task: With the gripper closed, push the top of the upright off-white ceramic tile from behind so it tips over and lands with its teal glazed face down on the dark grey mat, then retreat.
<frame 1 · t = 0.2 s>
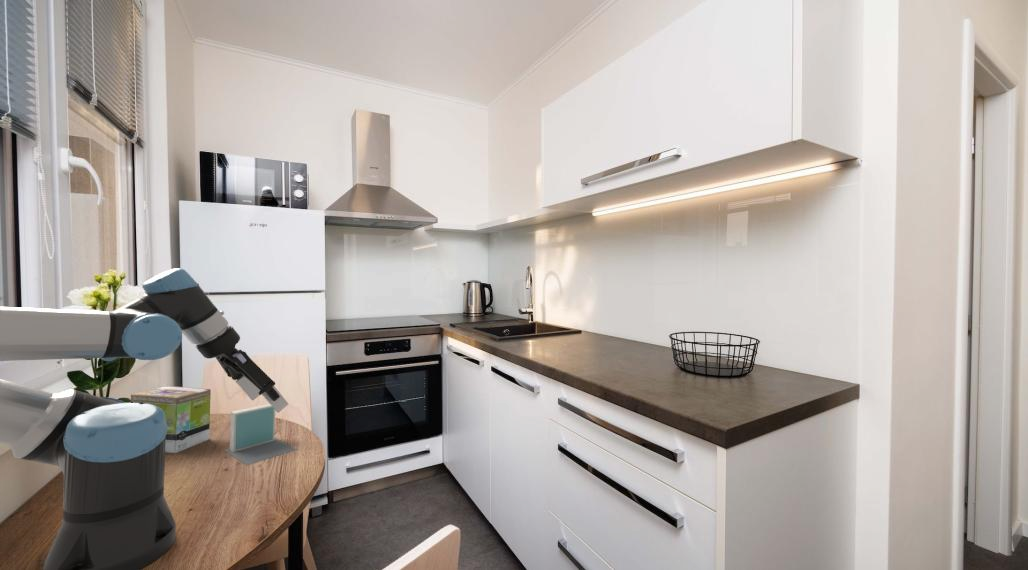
hand: (269, 402, 96), 16 cm above the table, tool tilted 35°, fingers open, 13 cm apart
tea box: (170, 445, 108), on the table
mat: (260, 451, 105), on the table
tile: (252, 444, 108), resting on mat
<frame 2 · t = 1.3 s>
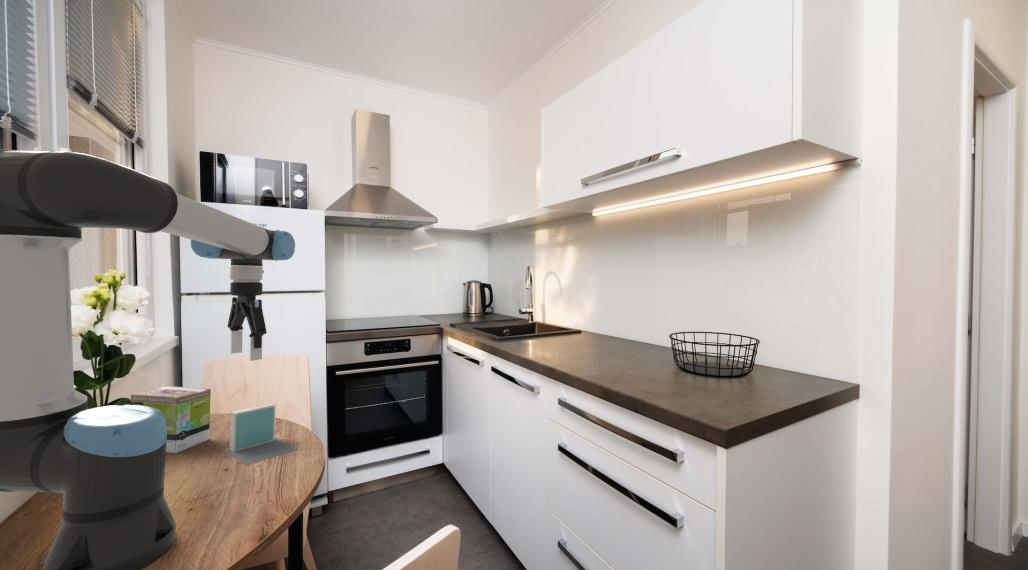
hand: (245, 356, 112), 24 cm above the table, tool pointing down, fingers open, 13 cm apart
nothing on the table moved.
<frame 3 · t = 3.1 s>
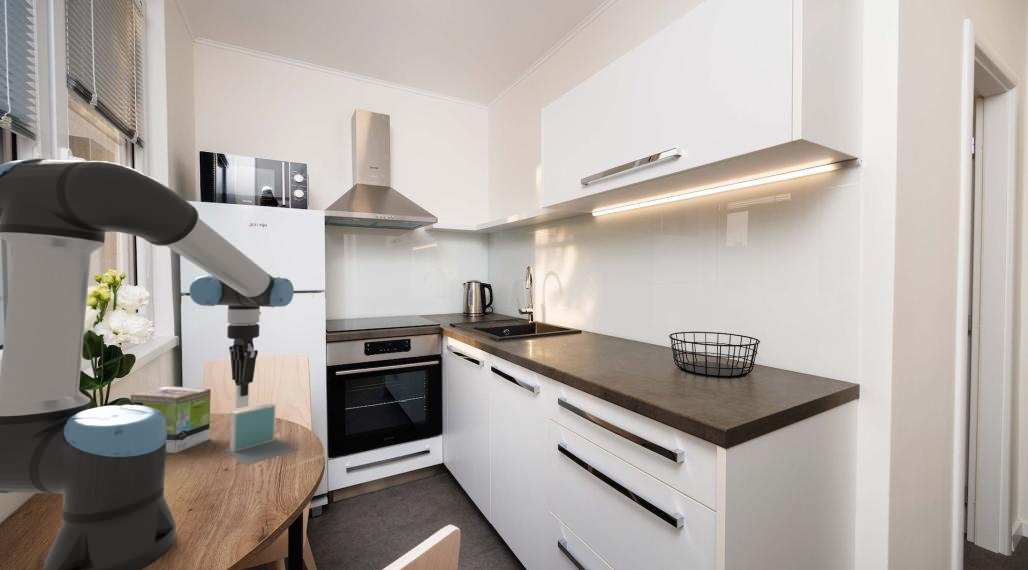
hand: (241, 406, 113), 9 cm above the table, tool pointing down, fingers closed
nothing on the table moved.
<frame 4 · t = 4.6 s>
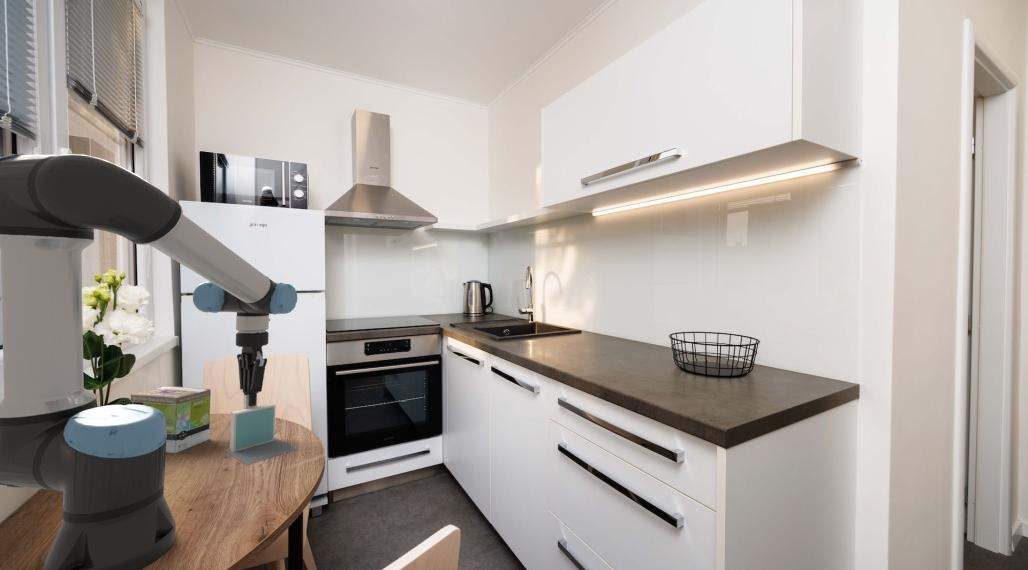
hand: (249, 416, 109), 8 cm above the table, tool pointing down, fingers closed
tile: (252, 444, 108), resting on mat, touching gripper
everything else where it was.
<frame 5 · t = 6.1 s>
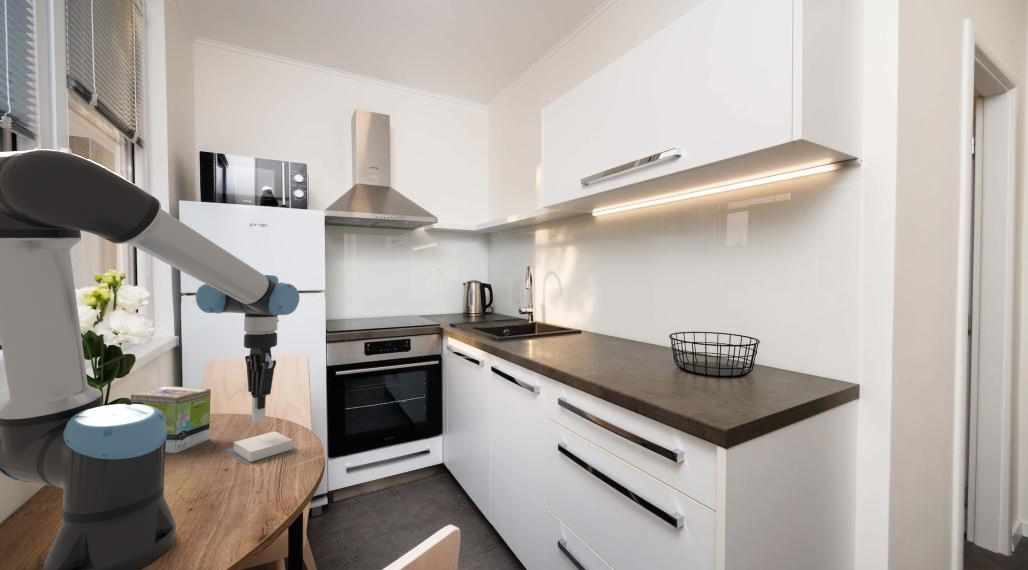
hand: (258, 420, 106), 8 cm above the table, tool pointing down, fingers closed
tile: (255, 440, 107), point 2 cm above the table, tilted 90°, touching mat
everything else where it was.
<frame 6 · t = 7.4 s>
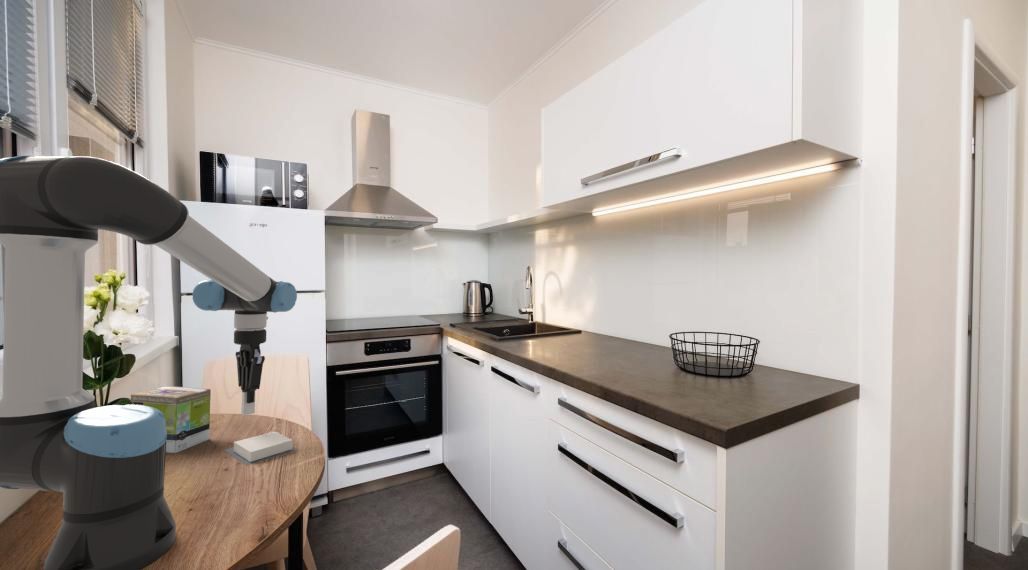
hand: (248, 413, 110), 8 cm above the table, tool pointing down, fingers closed
nothing on the table moved.
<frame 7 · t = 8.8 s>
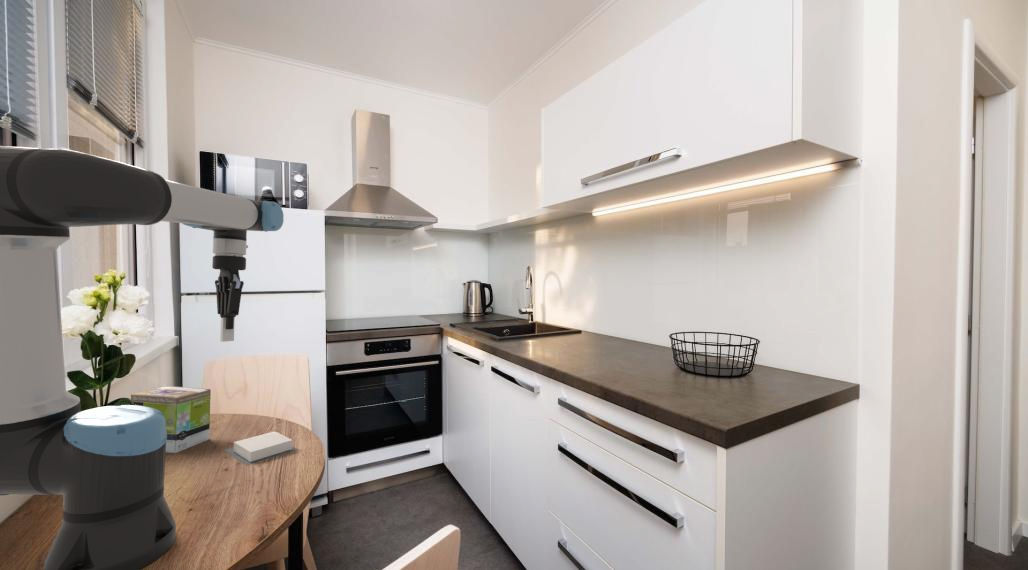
hand: (227, 340, 110), 28 cm above the table, tool pointing down, fingers closed
nothing on the table moved.
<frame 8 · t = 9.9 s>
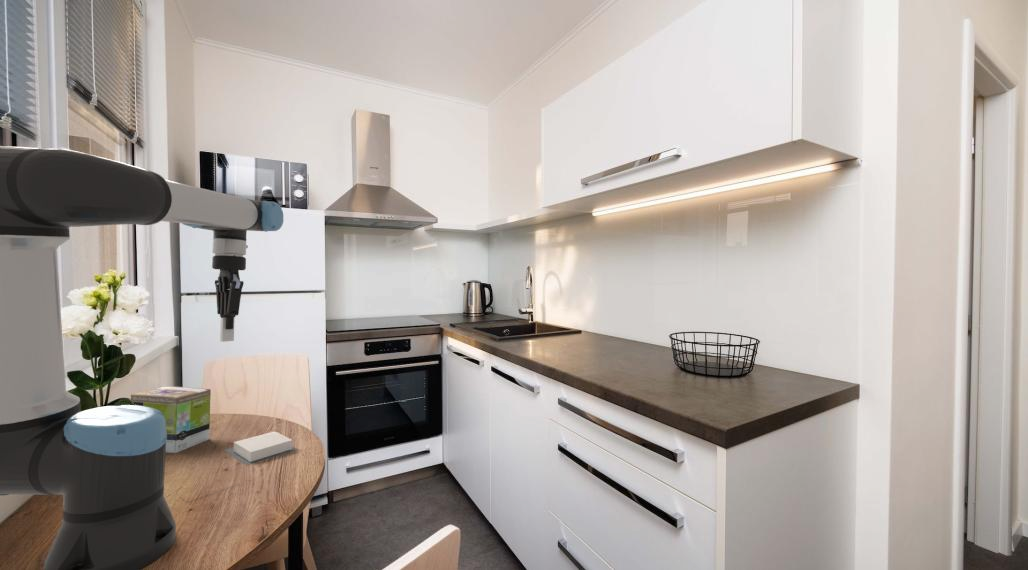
hand: (226, 340, 110), 28 cm above the table, tool pointing down, fingers closed
nothing on the table moved.
at the end: tile tilted 90°; tile inside the target area (4.1 cm from its centre), point 1.9 cm above the table; tile touching mat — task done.
